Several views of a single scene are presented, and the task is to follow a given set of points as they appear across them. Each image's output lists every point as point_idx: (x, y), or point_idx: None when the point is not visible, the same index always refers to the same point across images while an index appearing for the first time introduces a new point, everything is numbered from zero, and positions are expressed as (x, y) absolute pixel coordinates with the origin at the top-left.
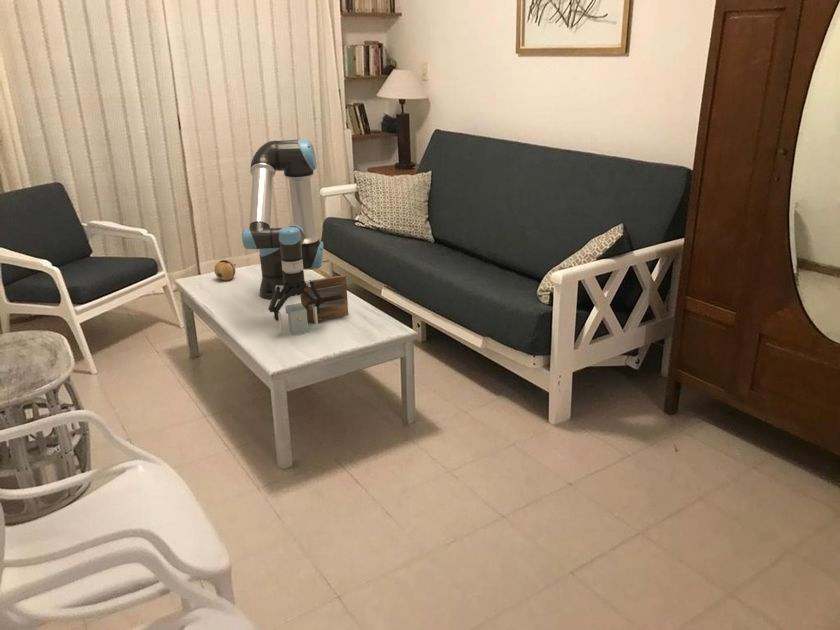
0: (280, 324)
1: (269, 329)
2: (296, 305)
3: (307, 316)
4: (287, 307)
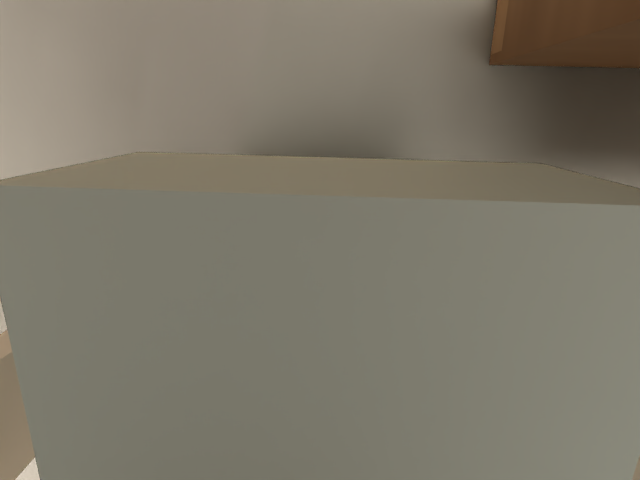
0: (30, 442)
1: (2, 66)
2: (419, 384)
3: (599, 53)
4: (54, 414)
